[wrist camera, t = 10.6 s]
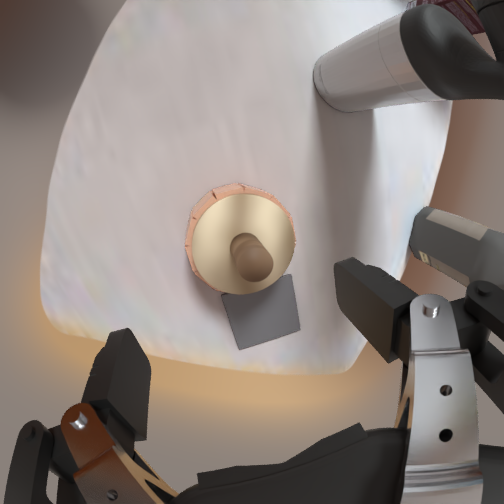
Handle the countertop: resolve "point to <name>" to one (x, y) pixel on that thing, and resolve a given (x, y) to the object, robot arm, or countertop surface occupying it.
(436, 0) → the supplement box
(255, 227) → the lid
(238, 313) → the mat
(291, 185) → the countertop surface
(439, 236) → the liquor
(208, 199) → the bowl
